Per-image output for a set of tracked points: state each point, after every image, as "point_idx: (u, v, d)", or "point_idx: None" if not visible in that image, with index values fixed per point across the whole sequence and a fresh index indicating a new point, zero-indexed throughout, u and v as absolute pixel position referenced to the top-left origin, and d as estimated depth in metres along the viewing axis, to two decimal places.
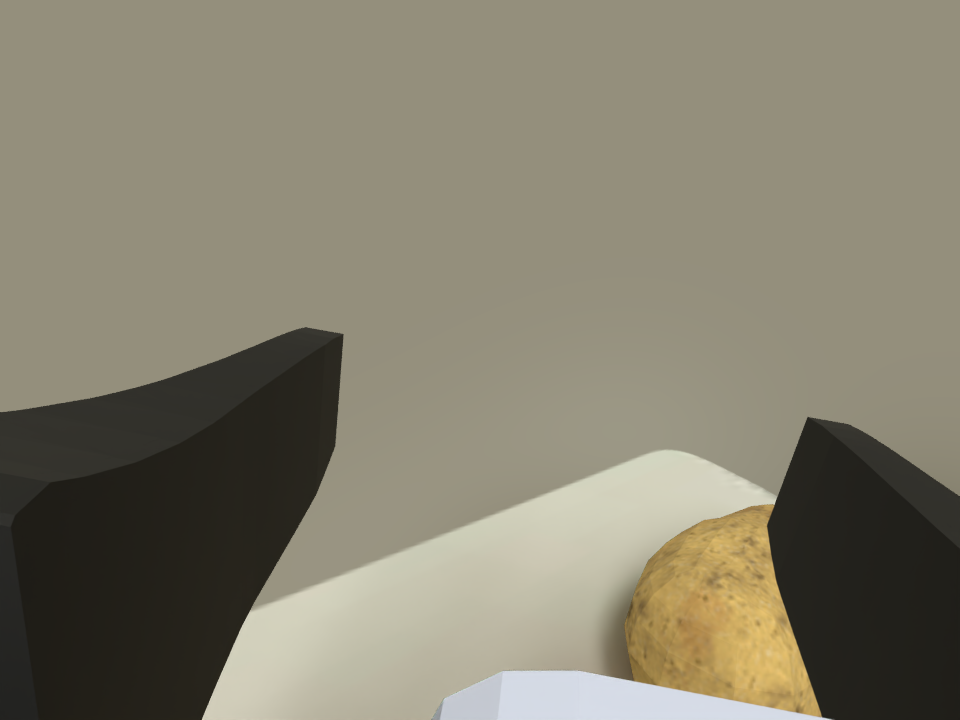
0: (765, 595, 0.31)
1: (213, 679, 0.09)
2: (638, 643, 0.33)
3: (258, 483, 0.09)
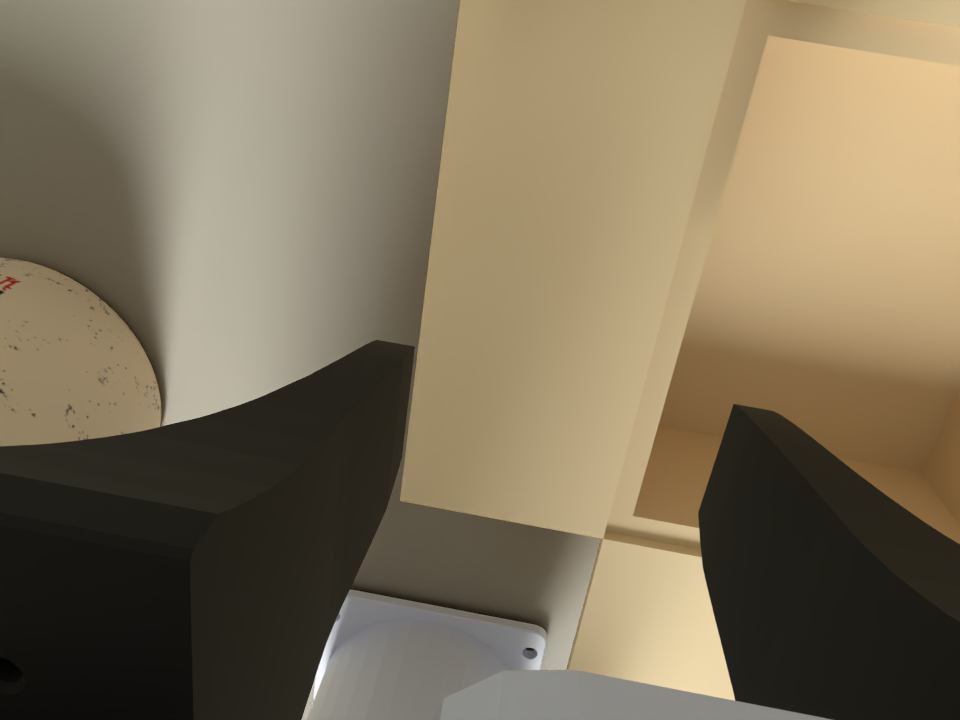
0: None
1: (305, 697, 0.09)
2: None
3: (347, 500, 0.09)
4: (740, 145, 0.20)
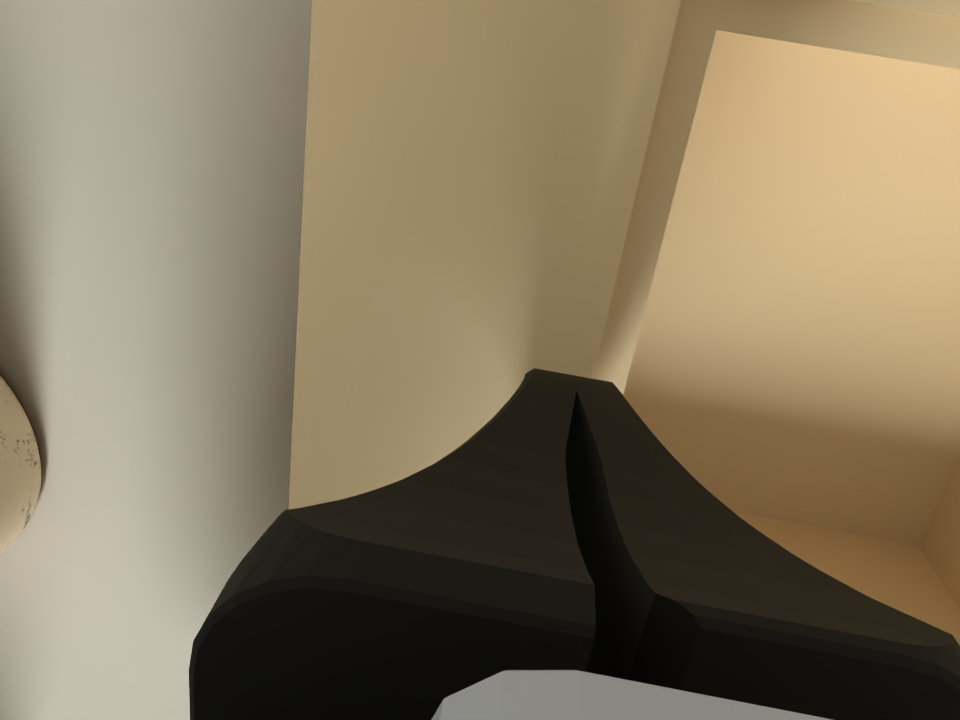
0: None
1: None
2: None
3: None
4: (699, 164, 0.16)
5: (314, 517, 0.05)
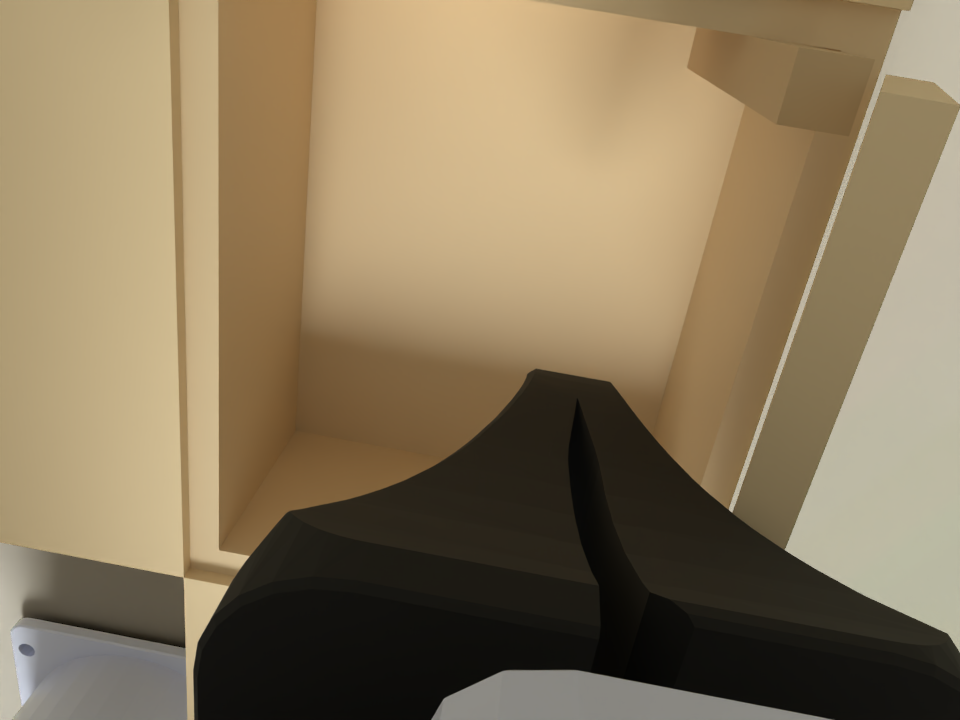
0: None
1: None
2: None
3: None
4: (365, 108, 0.16)
5: (317, 518, 0.05)
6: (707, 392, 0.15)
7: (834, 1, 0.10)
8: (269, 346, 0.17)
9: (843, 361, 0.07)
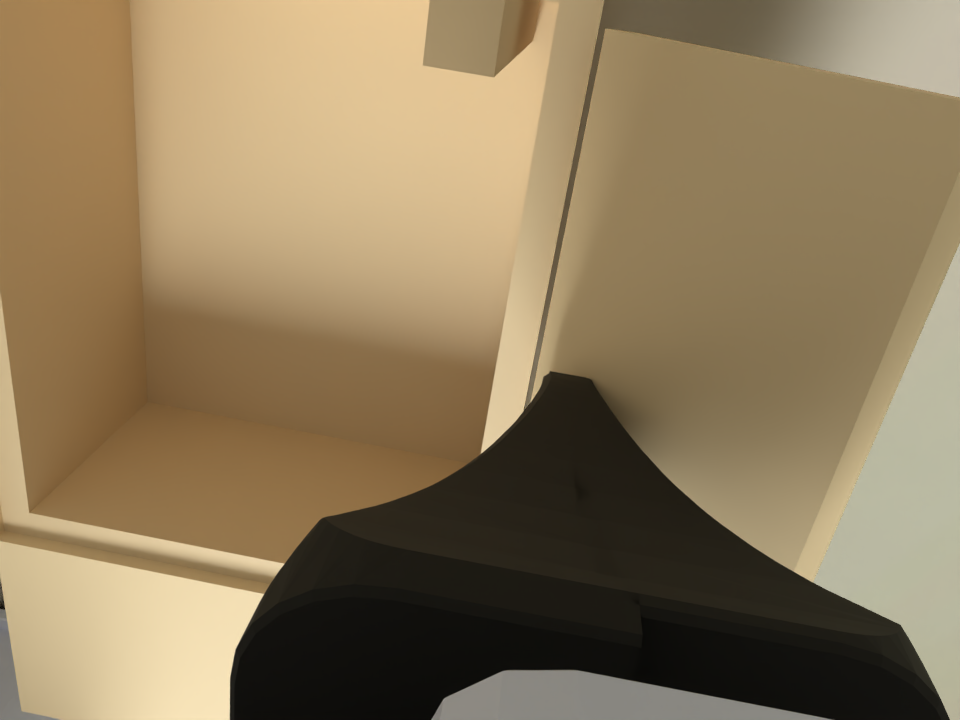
0: None
1: None
2: None
3: None
4: (185, 75, 0.17)
5: (352, 524, 0.05)
6: None
7: None
8: (90, 312, 0.17)
9: (911, 340, 0.08)
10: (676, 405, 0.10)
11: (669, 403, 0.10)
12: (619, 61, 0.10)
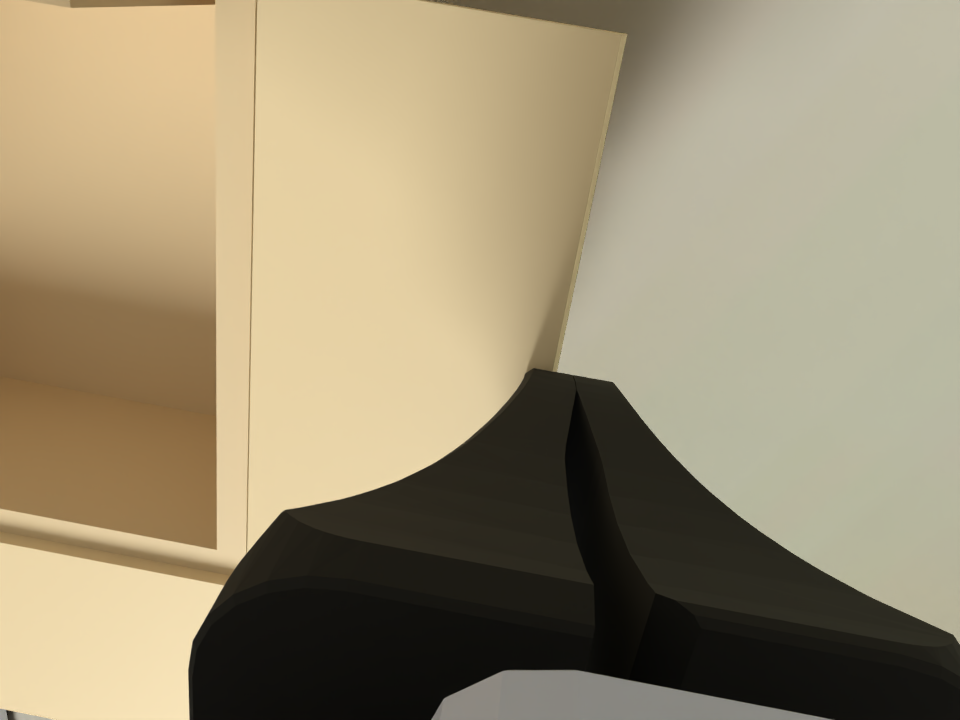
0: None
1: None
2: None
3: None
4: None
5: (313, 517, 0.05)
6: None
7: None
8: None
9: (589, 210, 0.11)
10: (416, 309, 0.12)
11: (408, 310, 0.12)
12: (283, 6, 0.11)
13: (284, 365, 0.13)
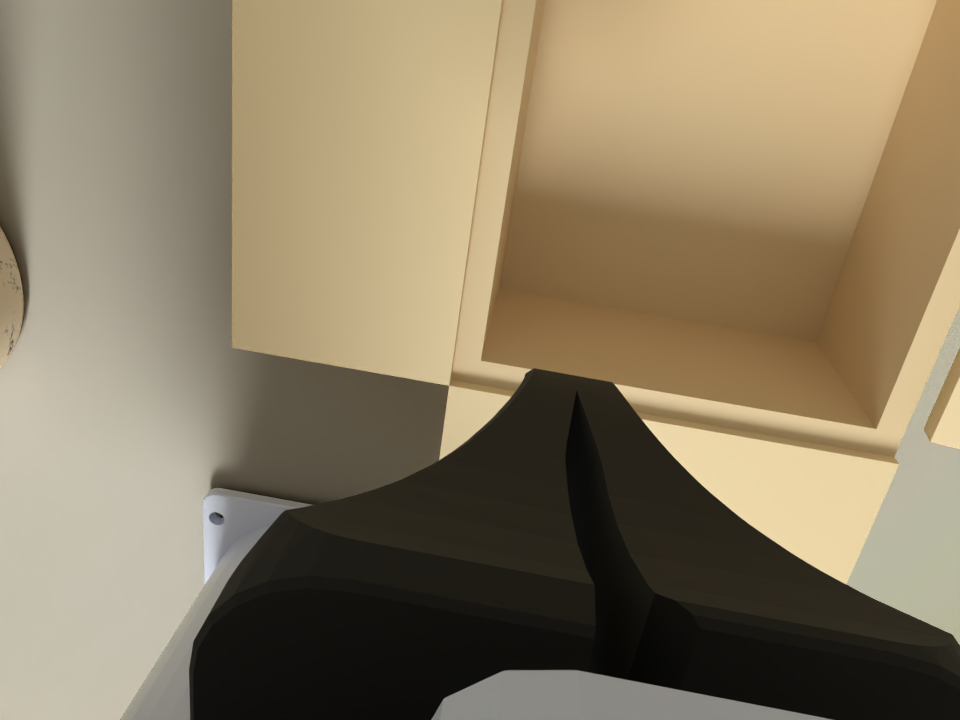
0: None
1: None
2: None
3: None
4: None
5: (313, 517, 0.05)
6: (934, 203, 0.16)
7: None
8: (512, 185, 0.18)
9: None
10: None
11: None
12: None
13: None
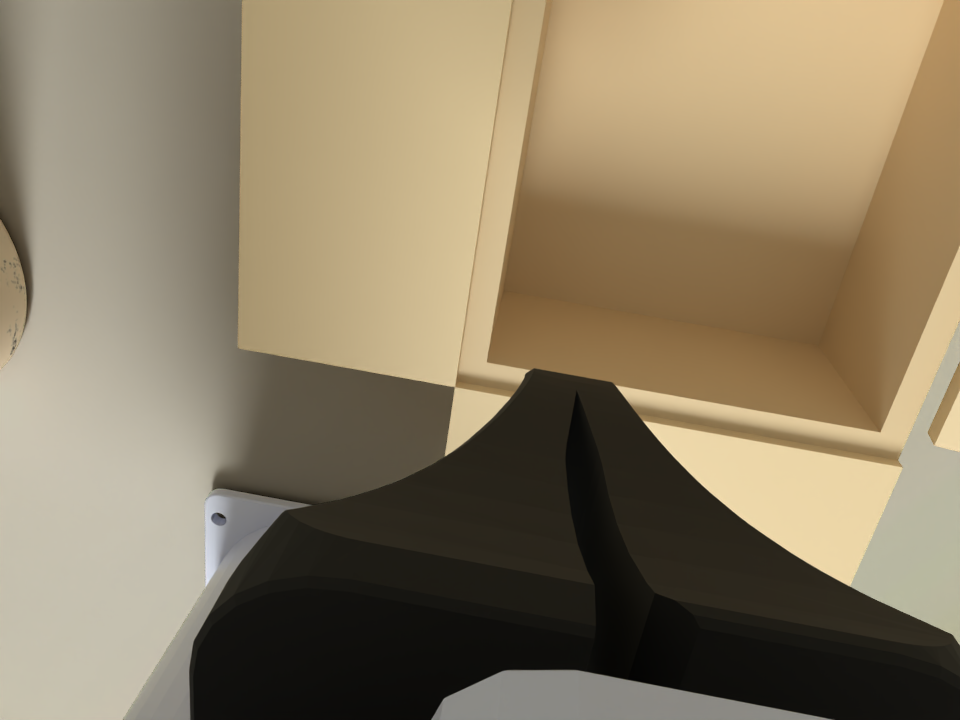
0: None
1: None
2: None
3: None
4: None
5: (313, 517, 0.05)
6: (939, 207, 0.16)
7: None
8: (518, 188, 0.18)
9: None
10: None
11: None
12: None
13: None
